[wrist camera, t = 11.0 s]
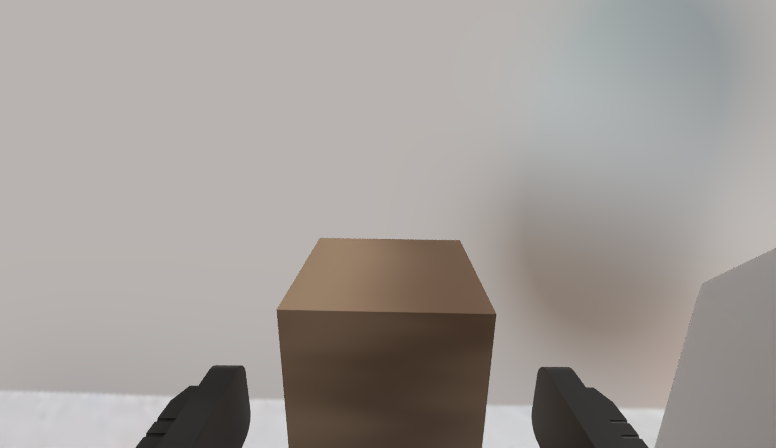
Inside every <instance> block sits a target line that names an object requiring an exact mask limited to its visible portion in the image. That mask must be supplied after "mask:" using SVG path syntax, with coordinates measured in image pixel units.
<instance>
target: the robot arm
mask: <svg viewBox="0 0 776 448" xmlns="http://www.w3.org/2000/svg"><path fill="white" fill-rule="evenodd" d="M249 425H250V404H249V396H248V388H247V380H246V372H245V368H244V367H243V366H225V365H223V366H221V365H220V366H219V365H216V366H213V367H212V368H211V369H210V370H209V371H208V373H207V374H206V376H205V377H204V378H203V380H202V381H201V383H200V384H199V386H189V387H188V388H187V389H185V390H184V391H183V392H181V393H180V394H179V395H177V396H176V397H175V398H174V399H172V400H171V401H170V402H169V404H168V405H167V406H166V408H165V409H164V410H163V412H162V413H161V414H160V416H159V417H158V420H157V422H154V424H153V425H152V426H151V428H150V429H149V430H148V432H147V433H146V437H143V438H142V440H141V441H140V442H139V444H138V445H137V446H136V448H242V446H243V444H244V441H245V439H246V436H247V433H248V430H249ZM532 425H533V430H534V434H535V437H536V440H537V442H538V444H539V446H540V448H648V446H647V445H646V444H645V443H644V441H643V440H642V439H639V436H638V434H637V432H636V431H635V430H634V429H633V427H632V426H631V425H630V424H628V423H627V420H626V418H625V417H624V416H623V415H622V413H621V412H620V411H619V409H618V408H617V407H616V406H615V404H614V403H613V402H612V401H610V400H609V399H608V398H606V397H605V396H604V395H603V394H601V393H600V392H599V391H597V390H596V389H594V388H586V387H585V386H584V384H583V383H582V382H581V380H580V379H579V378H578V376H577V375H576V373H575V372H574V371H573V370H572V369H571V368H569V367H541V368H540V369H539V370H538V374H537V381H536V387H535V394H534V401H533V407H532Z"/></svg>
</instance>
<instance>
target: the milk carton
mask: <svg viewBox="0 0 776 448" xmlns="http://www.w3.org/2000/svg"><path fill="white" fill-rule="evenodd" d="M655 448H776V248H775V249H773V250H771V251H769V252H767V253H765V254H762V255H760V256H758V257H756V258H754V259H752V260H750V261H748V262H746V263H744V264H742V265H740V266H738V267H736V268H733V269H731V270H729V271H727V272H725V273H723V274H721V275H719V276H717V277H715V278H713V279H711V280H709V281H707V282H705V283H703V284H702V286H701V288H700V291H699V294H698V297H697V301H696V304H695V307H694V310H693V314H692V317H691V321H690V324H689V328H688V331H687V335H686V338H685V342H684V345H683V349H682V352H681V356H680V359H679V363H678V366H677V370H676V374H675V378H674V381H673V384H672V388H671V391H670V395H669V398H668V402H667V406H666V409H665V413H664V416H663V420H662V423H661V427H660V430H659V434H658V437H657V441H656V445H655Z"/></svg>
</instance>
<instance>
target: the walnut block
mask: <svg viewBox="0 0 776 448" xmlns="http://www.w3.org/2000/svg"><path fill="white" fill-rule="evenodd" d="M277 318H278V329H279V341H280V352H281V363H282V375H283V387H284V398H285V410H286V421H287V432H288V444H289V448H482V441H483V432H484V423H485V413H486V404H487V394H488V385H489V376H490V366H491V358H492V348H493V339H494V330H495V321H496V313H495V311H494V309H493V307H492V305H491V303H490V301H489V298H488V296H487V295H486V293H485V290H484V288H483V286H482V284H481V282H480V280H479V278H478V276H477V274H476V272H475V270H474V268H473V266H472V264H471V262H470V260H469V258H468V256H467V254H466V252H465V250H464V248H463V246H462V244H461V242H460V240H402V239H398V240H397V239H396V240H395V239H340V238H320V239H319V240H318V242H317V244H316V246H315V247H314V249H313V250H312V252H311V254H310V255H309V257H308V259H307V260H306V262H305V264H304V266H303V267H302V269H301V270H300V272H299V274H298V275H297V277H296V279H295V280H294V282H293V284H292V285H291V287H290V289H289V290H288V292H287V294H286V295H285V297H284V299H283V300H282V302H281V304H280V306H279V307H278V309H277Z"/></svg>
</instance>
